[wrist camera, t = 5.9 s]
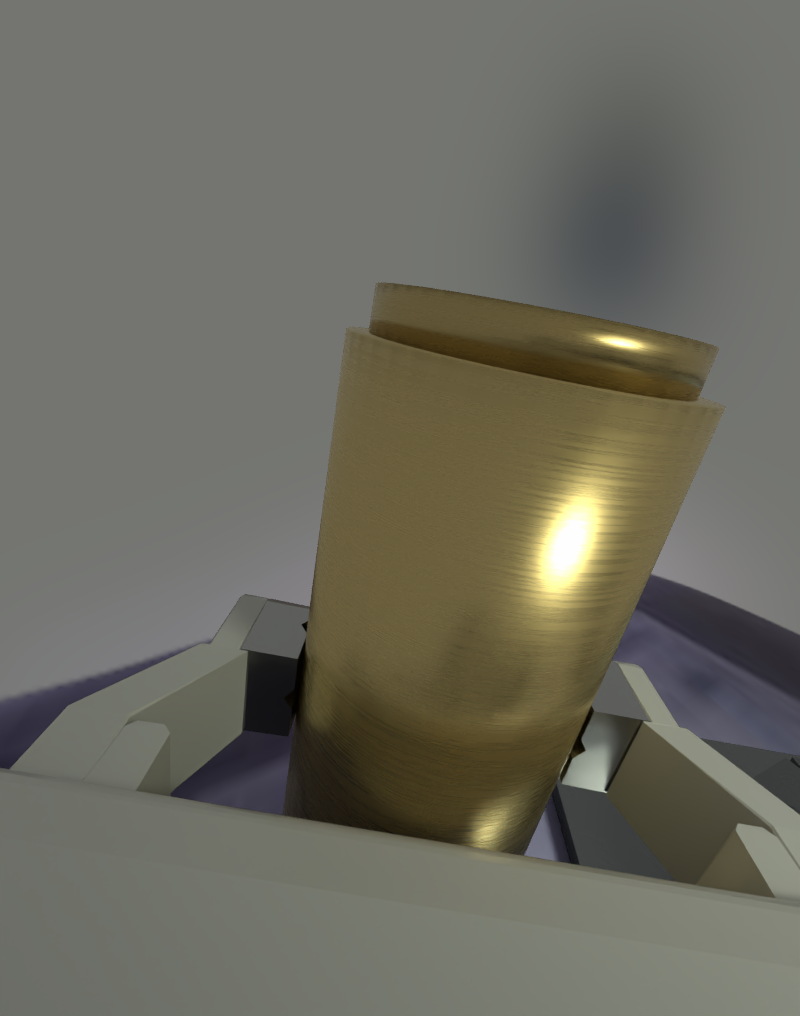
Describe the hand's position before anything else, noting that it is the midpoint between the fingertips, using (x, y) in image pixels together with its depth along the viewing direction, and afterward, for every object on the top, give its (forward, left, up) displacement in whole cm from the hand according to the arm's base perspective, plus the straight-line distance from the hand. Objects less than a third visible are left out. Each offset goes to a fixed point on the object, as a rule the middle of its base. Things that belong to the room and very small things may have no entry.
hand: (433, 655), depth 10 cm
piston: (0, +1, -8) cm, 8 cm away
